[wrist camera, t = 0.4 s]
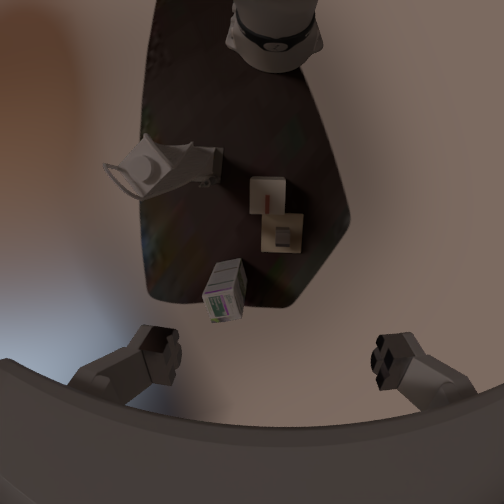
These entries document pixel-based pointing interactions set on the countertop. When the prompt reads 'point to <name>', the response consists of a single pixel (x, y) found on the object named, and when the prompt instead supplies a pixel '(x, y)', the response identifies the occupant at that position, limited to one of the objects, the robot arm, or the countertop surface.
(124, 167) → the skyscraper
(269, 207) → the knob
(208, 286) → the syrup box
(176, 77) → the countertop surface
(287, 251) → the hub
